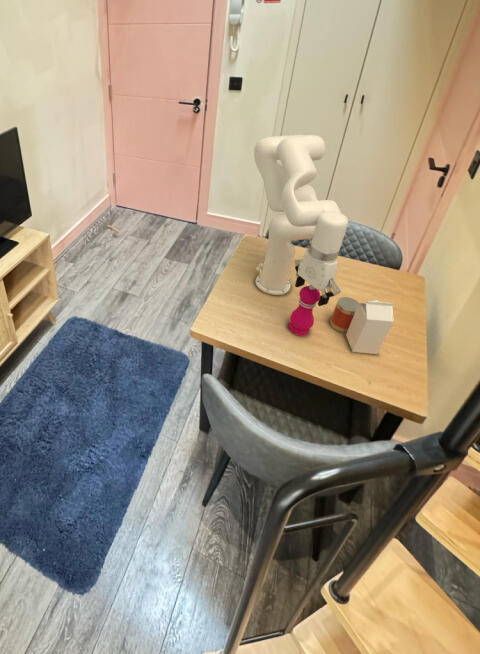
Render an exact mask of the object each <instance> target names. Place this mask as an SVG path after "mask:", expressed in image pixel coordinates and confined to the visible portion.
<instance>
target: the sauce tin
mask: <svg viewBox="0 0 480 654" xmlns="http://www.w3.org/2000/svg"><path fill="white" fill-rule="evenodd" d="M359 303H360V302H358V300H356V299H354V298H353V297H347V296H343V297H339V298H338V299H337V302H336V304H335V306H334V309H333V312H332V315H331V317H330V320H329V324H330V326H331V327H332V328H333V329H334V330H336V331H338V332H341V333H347V331H348V329H349V326H350V324H351V321H352V319H353V317H354V314H355V312H356V309H357V307H358V305H359Z"/></svg>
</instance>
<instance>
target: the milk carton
mask: <svg viewBox="0 0 480 654" xmlns="http://www.w3.org/2000/svg"><path fill="white" fill-rule="evenodd" d="M358 303H359V305H358V307H357V309H356V312H355V314H354V317H353V319H352V321H351V324H350V326H349V329H348V331H347V332H345V336H346V339H347V342H348V344H349V346H350V350H351V351H352V353H361V354H369V355H370V354H371V355H377V354H378V353H379V351H380V349H381V347H382V345H383V344H384V341H385V339H386V338H387V336H388V333H389V331H390V329H391V328H392V326H393V323H394V321H395V319H394V308H393V307H394V302H384V301H381V300H377V299H371V300H367V301H366V302H358Z"/></svg>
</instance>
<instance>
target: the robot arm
mask: <svg viewBox="0 0 480 654" xmlns="http://www.w3.org/2000/svg"><path fill="white" fill-rule="evenodd" d="M326 149H327V147H326V143H325V140H324V139H323V138H322V137H321V136H319V135H317V134H290V135H289V134H288V135H274V136H268V137H267V136H266V137H264V138H260V139H259V140H258V141H257V142H256V144H255V145H254V149H253V158H254V162H255V165H256V168H257V170H258V172H259V173H260V176H261V178H262V182H263V186H264V191H265V196H266V201H267V205H268V207H269V209H270V210H271V211H272V212H277V213H279V214H276V215H274V216H272V217H271V218H270V220H269V222H268V237H267V245H266V249H265V255H264V261H263V262H260V263H258V266H256V267H255V269H256V270H257V271H258V272H259V273H258V275H257V276H256V277H255V281H254V283H255V285H256V287H257V288H258V289H259V290H260V291H261V292H263V293H265V294H268V295H271V296H282V295H286V294H287V293H288V292H290V290H291V282H290V281H289V277H290V273H291V269H292V265H293V262H294V269H295V272H296V273H295V275H296V280H295V284H294V287H295V288H300V287H304V285H305V283H308V284H309V285H312V286H313V287H315V288H316V289H317V290H319V292H320V293H321V294H320V299H319V301H318V302H317V306H318V307H322V306H326V305H327V304H328V303H329V301H330V299H331V298H333V297H336V296H337V295H339V294H340V293H341V292H342V290H341V289H340V288H339V286H338V284H337V282H336V277H337V272H338V265H339V260H338V256H339V254H340V250H341V248H342V245H343V241H344V238H345V235H346V232H347V229H348V226H349V219H348V217H347V215H345V214H343V213H342V211H341V210H340V207H339V205H338V203H337V202H336V201H335V200H331V199H322V200H321V199H320V200H319V199H318V196H317V193H316V190H315V189H314V187H313V186H311V185H310V183H311V182H312V181H313V180H315V179H316V177H317V175H318V170H317V168H316V166H315V163H314V161H319V160H322V159H323V158H324V156H325V155H326ZM278 161H280V163H281V164H280V163H279V162H278ZM280 212H281V214H280ZM283 212H284V213H283ZM301 240H309V241H308V243H309V244H310V246H309V248H307V249H306V250H305V252H304V253H303V255H302V257H301V258H297V259H295V260H294V258H295V253H296V247H295V245H294V244H293V241H301ZM326 290H327V291H326Z"/></svg>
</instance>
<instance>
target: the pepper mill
mask: <svg viewBox="0 0 480 654" xmlns="http://www.w3.org/2000/svg"><path fill="white" fill-rule="evenodd" d="M298 294H299V295H298V296H299V298H298V303H299V304H298V306H297V307H296V308H295V309H294V310H293V311H292V312H291V314H290V316H289V325H288V329H289V330H290V332H292V333H293V334H295V335H296V336H307V335H308V334H309V333H310V330H311V328H313V326H314V323H315V318H314V314H313V310H314V308H315V307H316V306H317V304H318V302H319V299H320V296H321V291H320V290H317V289H316V288H315V287H313V286H312V285H311V284H309V285H305V286H302V287H301V289H300V290H299V293H298Z"/></svg>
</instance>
